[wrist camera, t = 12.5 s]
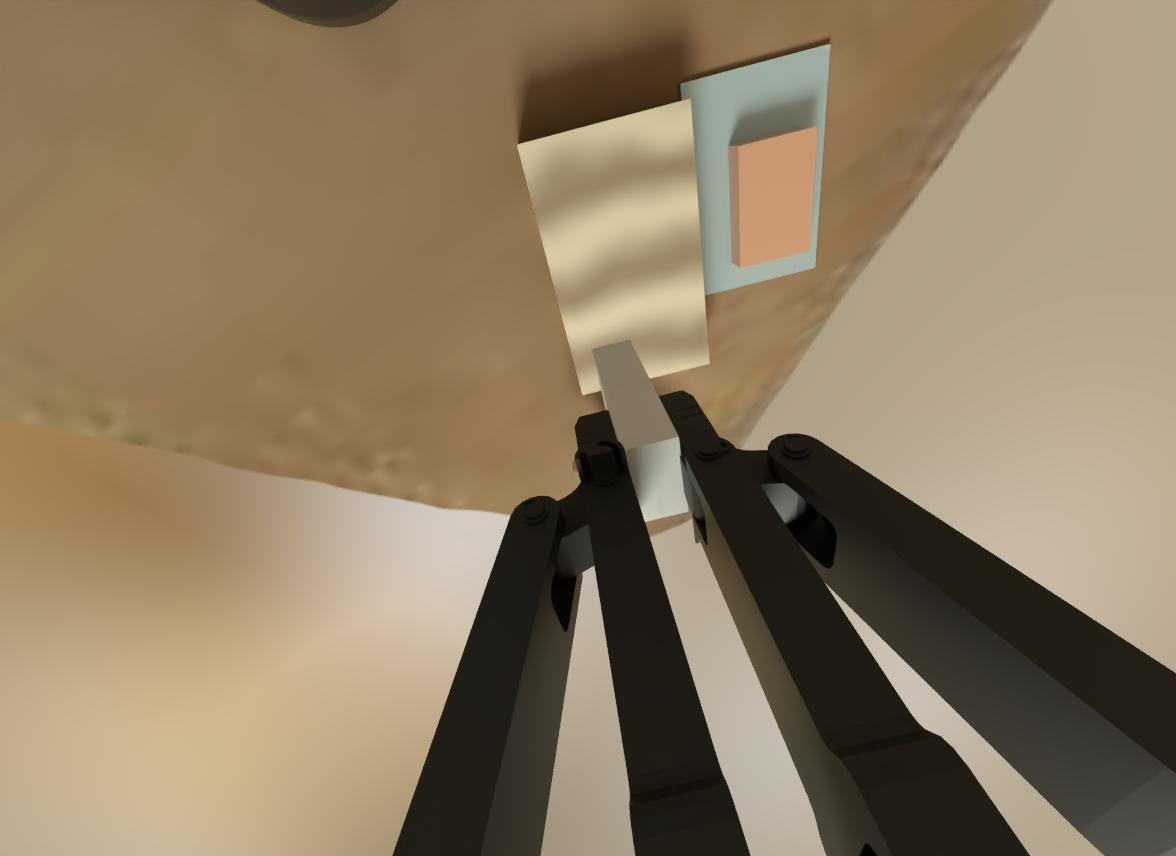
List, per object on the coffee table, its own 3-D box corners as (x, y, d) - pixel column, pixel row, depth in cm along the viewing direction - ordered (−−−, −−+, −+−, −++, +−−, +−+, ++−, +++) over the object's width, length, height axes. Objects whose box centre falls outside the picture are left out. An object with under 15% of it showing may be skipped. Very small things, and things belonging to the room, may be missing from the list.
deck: (518, 143, 33) (516, 144, 30) (674, 102, 33) (690, 98, 30) (578, 375, 44) (582, 395, 41) (695, 346, 44) (709, 363, 41)
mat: (679, 83, 32) (680, 83, 32) (828, 44, 32) (830, 43, 32) (696, 296, 41) (697, 297, 41) (813, 266, 41) (815, 267, 41)
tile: (817, 125, 33) (803, 126, 34) (738, 146, 33) (728, 145, 35) (809, 251, 38) (797, 246, 40) (740, 268, 38) (731, 262, 40)
